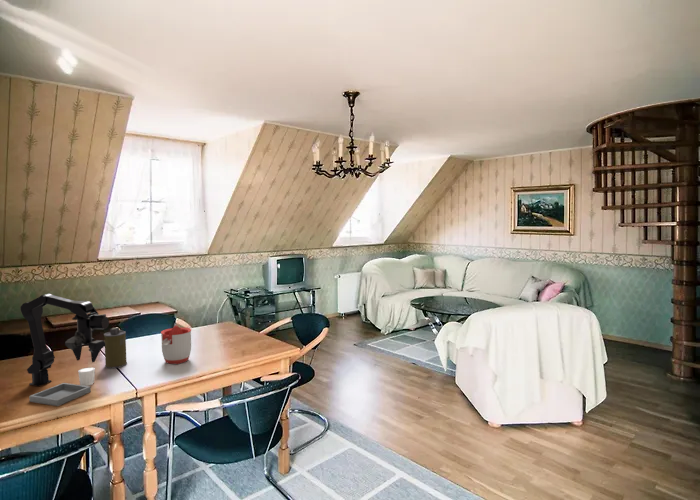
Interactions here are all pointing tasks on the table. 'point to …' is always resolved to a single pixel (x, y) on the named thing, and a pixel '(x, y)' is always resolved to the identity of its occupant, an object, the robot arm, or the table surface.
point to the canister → (115, 348)
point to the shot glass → (86, 376)
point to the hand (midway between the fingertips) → (85, 361)
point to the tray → (60, 394)
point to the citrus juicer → (176, 344)
